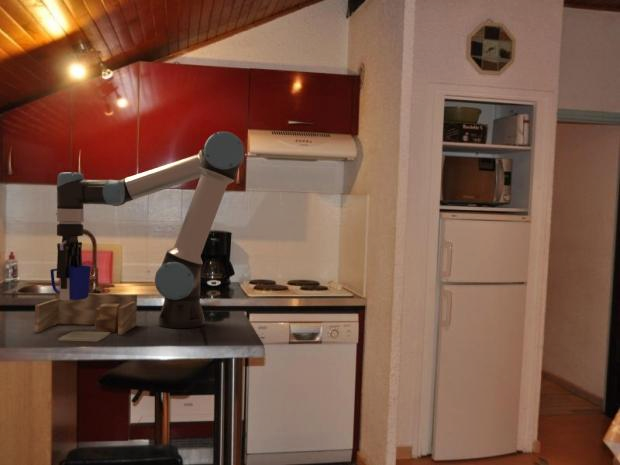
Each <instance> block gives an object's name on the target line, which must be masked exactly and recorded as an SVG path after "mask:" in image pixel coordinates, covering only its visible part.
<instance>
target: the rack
mask: <svg viewBox="0 0 620 465" xmlns="http://www.w3.org/2000/svg"><path fill="white" fill-rule="evenodd" d="M54 295H55V296H54V299H50V300H48V301H45V302H41V303H39V304H35V305H34V332H35V333H41V331H44V329H45V330H47V329H49V328H52V327H54V326H56V324H57V325H59V324H60V325H87V326H88V325H89V326H90V325H91V326H92V325H93V326H95V322H96V319H98V318H99V312H100V306H101V305H102V304H120V307H119V314H118V331H117V335H124V334H125V333H127V332H129V330H131V329H133V328H134V327H136V326H137V314H138V313H137V311H138V310H137V309H138V294H122V293H121V294H120V293H119V294H118V293H117V294H116V293H94V292H92V293H91V292H89V295H88V297H87V298H85V299H80V300H60V294H59V293H56V292H54ZM53 325H54V326H53ZM51 326H52V327H51ZM48 327H49V328H48ZM46 328H47V329H46ZM126 331H127V332H126Z"/></svg>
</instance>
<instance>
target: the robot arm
mask: <svg viewBox="0 0 620 465" xmlns="http://www.w3.org/2000/svg"><path fill="white" fill-rule="evenodd" d="M245 158H246V153H245V147H244V144H243V141H242V140H241V138H240V137H238V136H237V135H236V134H234V133H233V132H230V131H218V132H214V133H213V134H211V135H210V136H209V137H208V139H206V141H205V144H204V148H202V149H199V151H198V154H197V153H196V154H194V155H191V156H188V157H186V158H183V159H180V160H176V161H173V162H170V163H168V164H164V165H160V166H158V167H155V168H152V169H149V170H146V171H144V172H139V173H137V174H135V175H131V176H127V177H125V178H123V179H119V180H117V179H86V178H84V177H85V176H84V174H83V173H80V172H67V171H66V172H65V171H64V172H60V173H58V175H57V183H56V212H55V215H56V222H57V224H56V236H58V237H61V238H62V239H61V242H57V244H56V246H57V257H56V258H57V259H56V260H57V261H56V269H57V271H56V275H55V277H56V278H57V279H59V291H60V300H70V279H69V278H68V277H69V267H70V266H75V267H78V265H83V255H82V254H83V252H82V251H83V250H82V247H83V242H82V241H79V239H78V238H79V237H82V236H84V224H82V223H83V222H84V219H85V218H84V205H107V206H113V207H119V206H123V205H125V204H126V203H129V202H131V201H134V200H137V199H139V198H142V197H146V196H149V195H152V194H155V193H158V192H161V191H164V190H167V189H170V188H174V187H176V186H180V185H182V184H185V183H188V182H192V181H194V180H198V179H199V180H198V183H197V186H196V188H195V190H194V193H193V196H192V198H191V201H190V203H189V205H188V206H189V207H188V209H187V212H186V214H185V217H184V219H183V222H182V225H181V227H180V230H179V232H178V235H177V237H176V240H175V244H174V246H173V247H171V248H170V249H167V250H166V253H165V255H164V259H163V261H162V263H161V265H160V267H159V268H158V269H157V271H156V272H155V275H154V283H155V287H156V290H157V292H158V293H159V294H160V295H161V296H162V297H163V298H164V300H163V304H162V307H161V310H160V313H159V314H158V315H159V316H158V319H157V320H158V321H157V324H158V326H160V327H162V328H163V327H164V328H169V329H171V328H172V329H190V328H199V327H203V326H205V319H206V318H205V315H204V312H203V311H204V310H203V308H202V305H201V277H202V275H201V274H202V267H203V263H204V262H203V260H202V256H201V255H202V253H203V250H204V248H205V245H206V243H207V239H208V237H209V235H210V232H211V229H212V226H213V224H214V221H215V218H216V217H217V216H216V215H217V213H218V211H219V208H220V205H221V203H222V201H223V198H224V195H225V192H226V189H227V187H228V186H229V185H230V184H231V183H233V182H235V179H236V176H238V172H239V169H240V168H241V167H242V165H243V164H244V162H245Z"/></svg>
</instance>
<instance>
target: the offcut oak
mask: <svg viewBox="0 0 620 465" xmlns="http://www.w3.org/2000/svg"><path fill="white" fill-rule="evenodd" d="M119 307H120V304H102V305H101V306H100V312H99V319H107V320H116V319H117V318H118V314H119Z"/></svg>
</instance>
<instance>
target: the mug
mask: <svg viewBox="0 0 620 465" xmlns="http://www.w3.org/2000/svg"><path fill="white" fill-rule="evenodd" d="M91 269H92V266H91V265H83V264H82V265H78V267H75V266H70V267H69V277H68V278H69V279H70V300H80V299H85V298H87V297H88V295H89V293H90V283H91V282H90V281H91ZM55 272H57V268H52V269H50V281H51V286H52V287H51V288H52V289H53V291H54V293H59V294H60V290H58V289H57V286H56V283H55Z"/></svg>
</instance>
